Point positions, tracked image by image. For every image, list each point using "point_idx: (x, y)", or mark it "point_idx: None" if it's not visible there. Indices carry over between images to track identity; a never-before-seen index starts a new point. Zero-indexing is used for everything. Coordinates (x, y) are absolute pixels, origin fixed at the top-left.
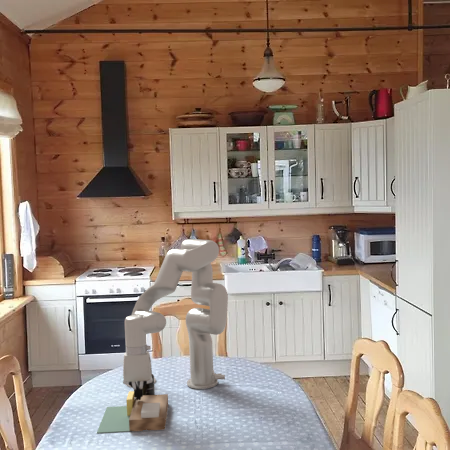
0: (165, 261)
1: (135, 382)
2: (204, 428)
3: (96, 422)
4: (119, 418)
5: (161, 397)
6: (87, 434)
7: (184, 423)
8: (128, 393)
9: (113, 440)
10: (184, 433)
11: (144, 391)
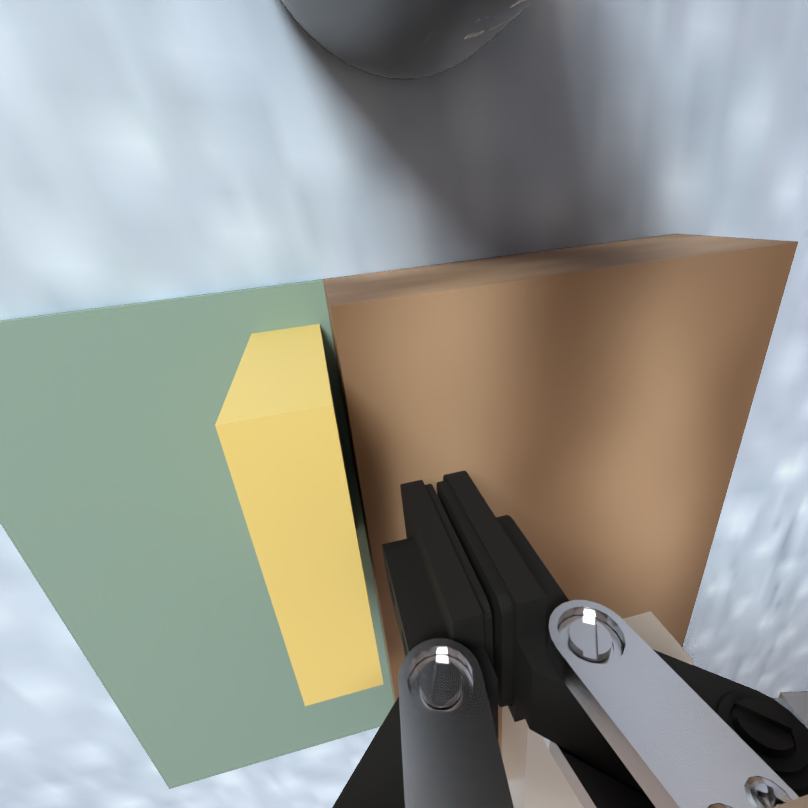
0: None
1: (487, 798)
2: (798, 604)
3: (46, 668)
4: (248, 595)
5: (699, 366)
6: (104, 804)
7: (720, 571)
8: (247, 517)
9: (328, 800)
10: (694, 664)
11: (443, 32)
